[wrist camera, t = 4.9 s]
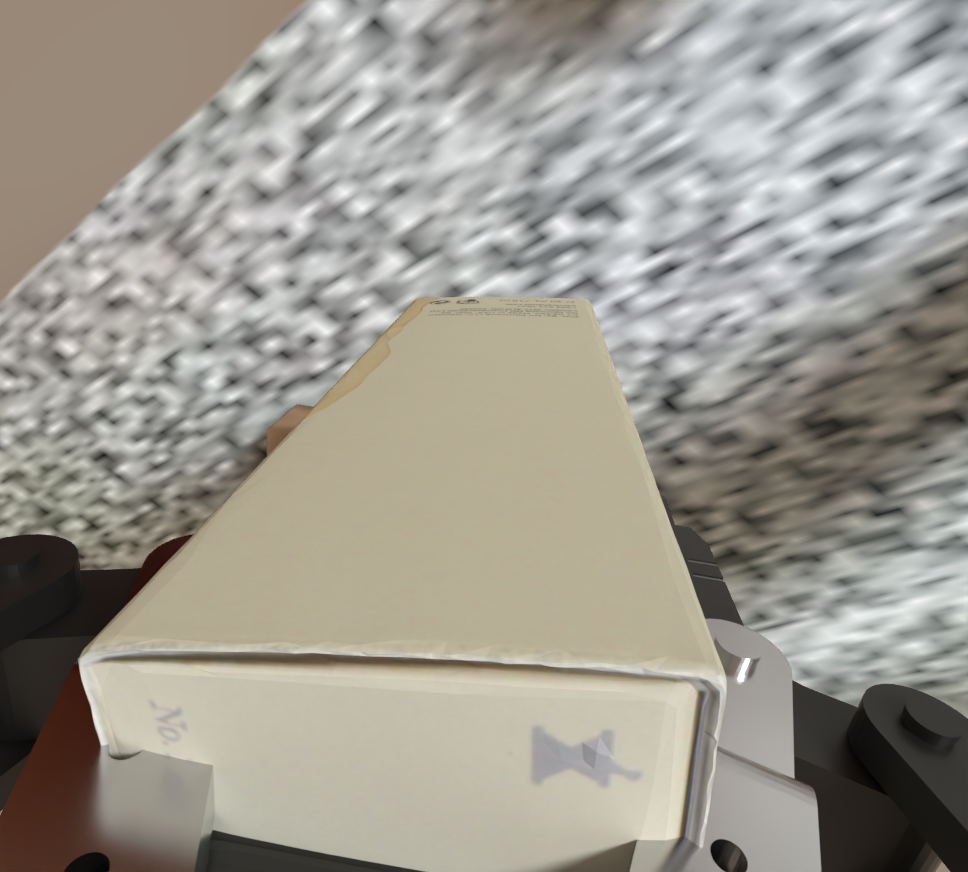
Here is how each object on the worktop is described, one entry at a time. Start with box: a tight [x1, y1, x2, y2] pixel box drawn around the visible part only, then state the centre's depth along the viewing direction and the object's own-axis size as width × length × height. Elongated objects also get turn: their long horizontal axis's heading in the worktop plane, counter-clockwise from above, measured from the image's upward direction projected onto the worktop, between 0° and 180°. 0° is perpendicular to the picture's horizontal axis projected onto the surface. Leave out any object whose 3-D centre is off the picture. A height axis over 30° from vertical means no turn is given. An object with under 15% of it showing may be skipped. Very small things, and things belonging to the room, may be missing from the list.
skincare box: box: [78, 297, 727, 872], centre depth 11 cm, size 6×4×12 cm
